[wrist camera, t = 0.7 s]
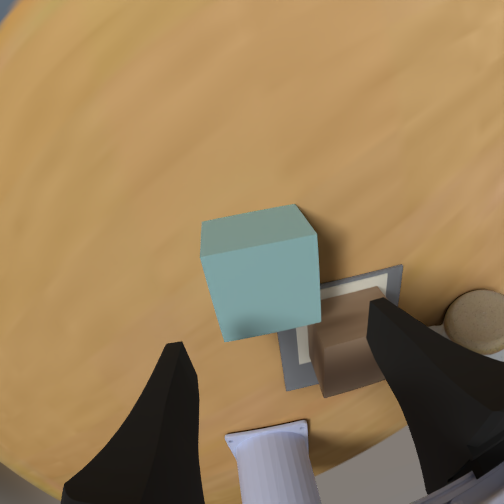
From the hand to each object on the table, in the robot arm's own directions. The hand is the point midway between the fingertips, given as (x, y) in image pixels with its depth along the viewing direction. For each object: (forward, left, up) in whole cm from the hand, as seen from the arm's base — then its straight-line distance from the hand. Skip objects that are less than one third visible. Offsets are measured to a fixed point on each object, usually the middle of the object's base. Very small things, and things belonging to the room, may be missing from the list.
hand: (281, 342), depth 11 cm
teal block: (0, 0, -7) cm, 7 cm away
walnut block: (-7, -5, -7) cm, 11 cm away
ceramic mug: (-12, -16, -7) cm, 21 cm away
